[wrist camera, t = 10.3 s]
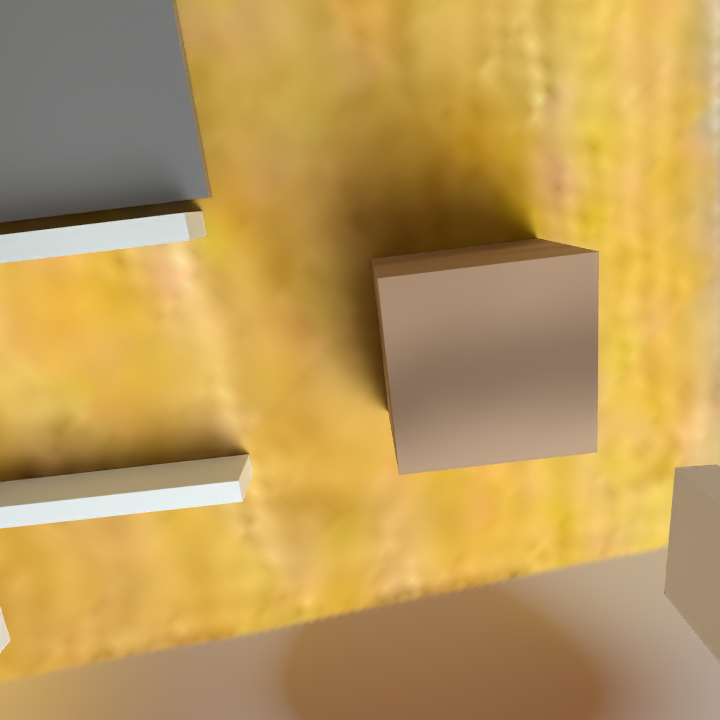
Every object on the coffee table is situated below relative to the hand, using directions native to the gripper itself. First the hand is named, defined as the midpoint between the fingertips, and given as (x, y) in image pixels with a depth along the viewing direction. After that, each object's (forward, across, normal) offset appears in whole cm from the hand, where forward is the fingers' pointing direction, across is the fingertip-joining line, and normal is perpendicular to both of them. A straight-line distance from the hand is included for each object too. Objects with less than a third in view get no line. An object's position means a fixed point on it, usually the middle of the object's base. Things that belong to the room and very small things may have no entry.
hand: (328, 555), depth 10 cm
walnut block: (+14, +5, +1) cm, 15 cm away
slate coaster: (+14, -10, +12) cm, 21 cm away
